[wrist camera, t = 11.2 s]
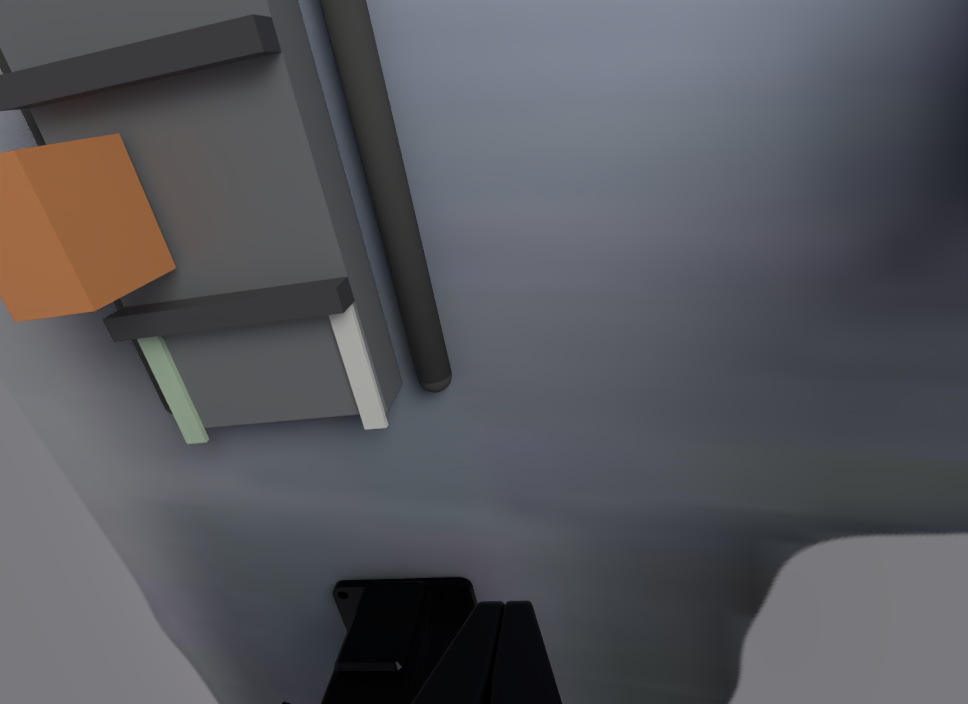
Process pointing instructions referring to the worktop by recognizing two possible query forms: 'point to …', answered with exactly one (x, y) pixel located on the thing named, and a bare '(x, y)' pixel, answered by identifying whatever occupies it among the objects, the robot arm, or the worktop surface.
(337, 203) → the panel
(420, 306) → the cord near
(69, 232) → the orange block
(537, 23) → the worktop surface
